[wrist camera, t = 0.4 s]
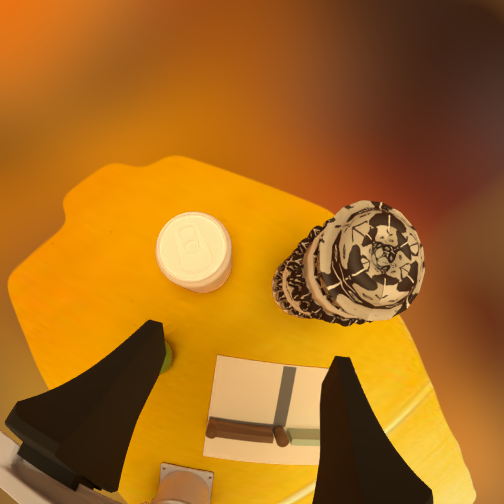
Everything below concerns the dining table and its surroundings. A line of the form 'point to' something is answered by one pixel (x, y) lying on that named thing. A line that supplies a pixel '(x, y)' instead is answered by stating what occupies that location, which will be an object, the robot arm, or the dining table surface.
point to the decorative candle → (353, 267)
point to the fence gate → (303, 437)
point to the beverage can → (195, 252)
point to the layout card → (265, 408)
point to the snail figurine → (167, 358)
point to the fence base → (246, 432)
